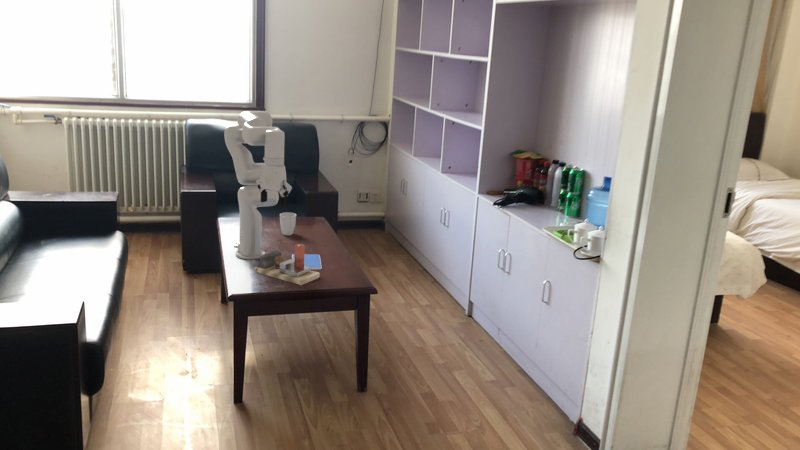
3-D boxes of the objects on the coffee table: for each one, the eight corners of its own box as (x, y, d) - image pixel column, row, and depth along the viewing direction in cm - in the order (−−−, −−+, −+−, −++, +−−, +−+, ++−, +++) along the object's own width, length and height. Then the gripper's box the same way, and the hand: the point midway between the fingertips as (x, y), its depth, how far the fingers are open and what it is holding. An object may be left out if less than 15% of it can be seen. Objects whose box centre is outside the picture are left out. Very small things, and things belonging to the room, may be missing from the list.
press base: (257, 272, 281) (257, 256, 279) (275, 265, 291) (276, 249, 289) (301, 285, 270) (302, 268, 268) (319, 277, 280) (320, 261, 279)
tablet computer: (291, 256, 306) (292, 253, 306) (319, 256, 308) (320, 253, 308) (292, 270, 288) (292, 267, 288) (322, 270, 290) (322, 267, 290)
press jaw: (279, 271, 277) (280, 244, 274) (293, 266, 284) (294, 239, 281) (297, 276, 273) (297, 249, 270) (310, 271, 280) (311, 244, 277)
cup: (298, 235, 336) (299, 215, 333) (283, 237, 332) (284, 217, 329) (291, 231, 342) (292, 211, 340) (276, 232, 338) (277, 213, 335)
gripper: (250, 159, 267) (250, 201, 271) (285, 166, 259) (284, 209, 263) (263, 157, 273) (262, 198, 278) (297, 163, 265) (296, 206, 270)
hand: (273, 203), depth 271 cm, fingers open, 9 cm apart
